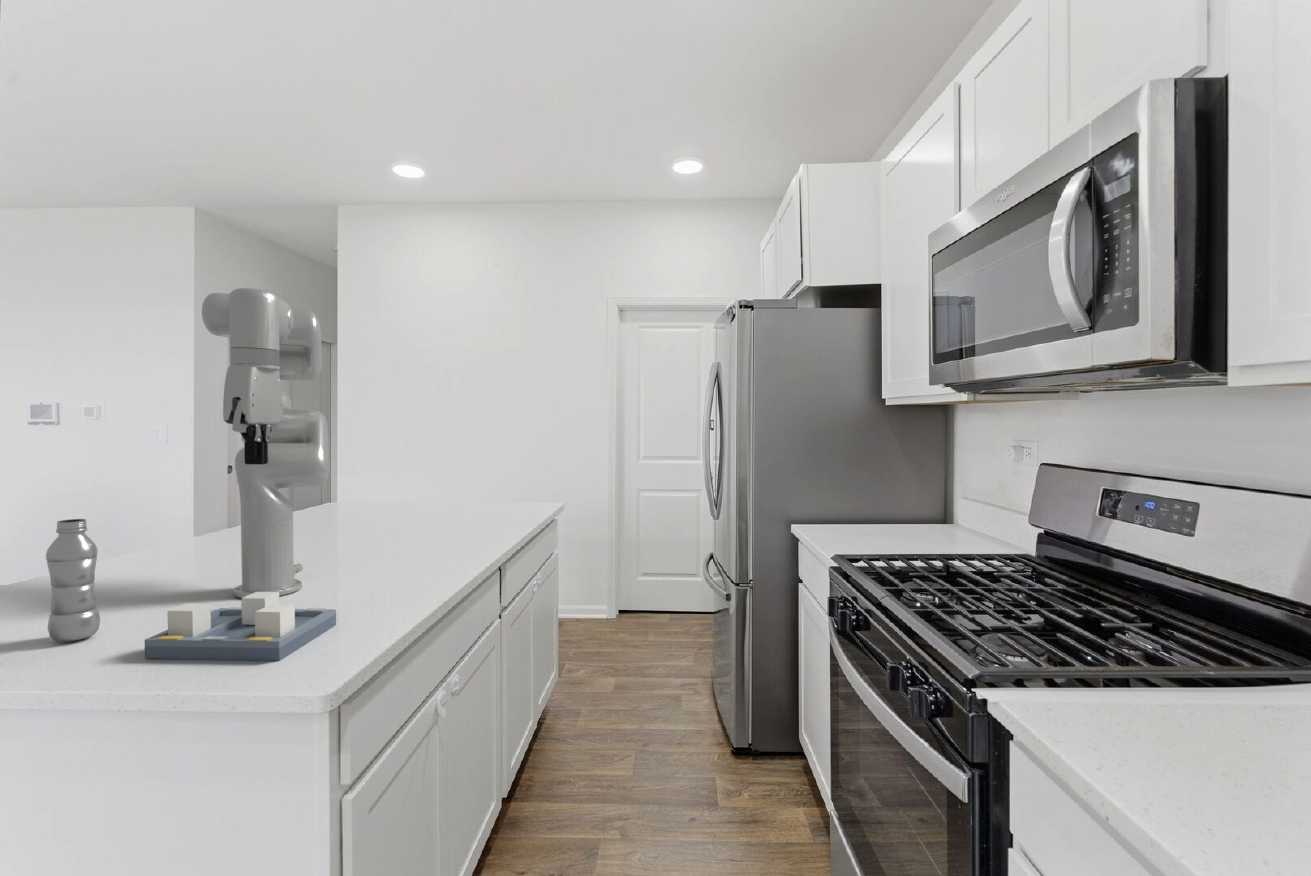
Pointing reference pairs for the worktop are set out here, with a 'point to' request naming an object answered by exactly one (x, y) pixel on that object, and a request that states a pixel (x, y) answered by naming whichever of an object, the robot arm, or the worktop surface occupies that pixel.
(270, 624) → the tab
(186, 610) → the tab
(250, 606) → the tab
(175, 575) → the worktop surface
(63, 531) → the plastic bottle
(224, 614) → the switch bank
